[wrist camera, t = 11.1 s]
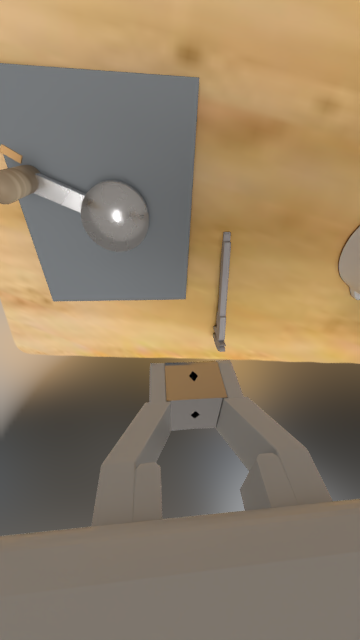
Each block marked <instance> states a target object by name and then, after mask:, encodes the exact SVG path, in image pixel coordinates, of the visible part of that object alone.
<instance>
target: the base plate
mask: <svg viewBox="0 0 360 640" xmlns="http://www.w3.org/2000/svg"><path fill="white" fill-rule="evenodd" d="M198 89H199V78H197V77H183V76H169V75H155V74H142V73H128V72H114V71H100V70H86V69H73V68H59V67H45V66H31V65H17V64H3V63H0V146H1V148H0V152H1V153H3V155H4V158H5V161H6V164H7V167H8V168H13V167H17V166H22V165H31V166H33V167H35V168H36V169H37V170H38V171H39V172H40V173H41V174H43V175H45V176H47V177H50V178H52V179H54V180H56V181H59V182H61V183H63V184H65V185H68V186H70V187H72V188H74V189H77V190H79V191H81V192H83V193H87V192H88V191H89V190H90V189H91V188H93V187H94V186H95V185H96V184H98V183H100V182H102V181H105V180H120V181H123V182H126V183H128V184H129V185H131V186H133V187H134V188H135V189H136V190H137V191H138V192H139V193H140V194H141V195H142V197H143V199H144V200H145V202H146V205H147V208H148V212H149V225H148V230H147V234H146V236H145V238H144V239H143V241H142V242H141V243H140V244H139V245H138V246H137V247H135V248H133V249H131V250H128V251H124V252H115V251H110V250H107V249H105V248H103V247H101V246H99V245H98V244H96V243H95V242H94V241H93V240H92V239H91V238H90V237H89V235H88V234H87V232H86V231H85V229H84V226H83V224H82V220H81V213H80V212H78V211H75V210H73V209H70V208H68V207H66V206H63V205H61V204H58V203H56V202H54V201H51V200H49V199H46V198H44V197H42V196H39V195H37V194H34V193H32V194H30V195H28V196H25V197H23V198H21V199H19V202H20V205H21V208H22V211H23V214H24V217H25V220H26V222H27V225H28V228H29V231H30V234H31V237H32V240H33V243H34V246H35V249H36V252H37V255H38V258H39V261H40V264H41V266H42V269H43V272H44V275H45V278H46V281H47V284H48V287H49V290H50V293H51V296H52V299H53V301H103V300H167V299H186V284H187V268H188V252H189V235H190V219H191V203H192V187H193V170H194V154H195V138H196V122H197V106H198Z"/></svg>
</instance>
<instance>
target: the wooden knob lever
mask: <svg viewBox="0 0 360 640" xmlns="http://www.w3.org/2000/svg"><path fill="white" fill-rule="evenodd" d="M32 193H34V194H37V195H39V196H42V197H44V198H46V199H49V200H51V201H54V202H56V203H58V204H61V205H63V206H66V207H68V208H70V209H73V210H75V211H78V212H80V213H81V220H82V224H83V226H84V229H85V231H86V232H87V234H88V235H89V237H90V238H91V239H92V240H93V241H94V242H95V243H96V244H98V245H99V246H101V247H103V248H105V249H107V250H110V251H115V252H124V251H128V250H131V249H133V248H135V247H137V246H138V245H139V244H140V243H141V242H142V241H143V239H144V238H145V236H146V234H147V230H148V225H149V212H148V208H147V205H146V202H145V200H144V199H143V197H142V195H141V194H140V193H139V192H138V191H137V190H136V189H135V188H134V187H133V186H131V185H129V184H128V183H126V182H123V181H120V180H105V181H102V182H100V183H98V184H96V185H95V186H94V187H93V188H91V189H90V190H89V191H88V192H87V193H83V192H81V191H79V190H77V189H74V188H72V187H70V186H68V185H65V184H63V183H61V182H59V181H56V180H54V179H52V178H50V177H47V176H45V175H43V174H41V173H40V172H39V171H38V170H37V169H36V168H35V167H33V166H31V165H22V166H17V167H13V168H8V169H3V170H0V203H1V204H10V203H12V202H15V201H17V200H19V199H21V198H23V197H25V196H28V195H30V194H32Z"/></svg>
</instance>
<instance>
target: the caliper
mask: <svg viewBox="0 0 360 640" xmlns="http://www.w3.org/2000/svg"><path fill="white" fill-rule="evenodd" d="M230 235H231V234H230V232H224V233H223V242H222V252H221V270H220V287H219V304H218V312H217V326H214V328H213V329H214V331H215V333H213V338H214V341H215V345H216V347H217V349H218V351H220V352H222V351H225V347H224V346H226V345H225V343H224V339H225V325H226V316H225V315H226V302H227V289H228V275H229V262H230V248H231V242H230Z"/></svg>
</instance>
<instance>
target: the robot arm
mask: <svg viewBox="0 0 360 640" xmlns="http://www.w3.org/2000/svg"><path fill="white" fill-rule="evenodd" d="M339 273H340V276H341V278H342V280H343V281H344V282H345V283H346V284H347V285H348V286H349V287H350V293H351V296H352V297H353V298H355V299H356V300H360V226H359V228H358V229H357V230H356V231H355V232H354V233H353V234H352V236H351V237H350V239H349V240H348V242H347V243H346V245H345V247H344V249H343V251H342V253H341V256H340V260H339ZM193 428H194V429H196V428H216V429H217V431H218V432H219V433H220V434H221V436H222V437H223V438H224V440H225V441H226V442H227V443H228V445H229V446H230V447H231V448H232V450H233V451H234V452H235V454H236V455H237V456H238V457H239V459H240V460H241V461H242V463H243V464H244V465H245V466H246V468H247V469H248V470H249V474H248V476H247V477H246V479H245V481H244V483H243V485H242V487H241V489H240V491H241V496H242V500H243V504H244V508H245V511H237V512H228V513H219V514H208V515H199V516H190V517H179V518H170V519H162V498H161V468H160V466H159V465H158V464H156V461H157V459H158V457H159V455H160V453H161V451H162V449H163V447H164V445H165V442H166V440H167V438H168V436H169V434H170V431H173V430H184V429H193ZM0 640H360V499H353V500H343V501H332V499H331V497H330V494H329V492H328V490H327V488H326V486H325V484H324V482H323V480H322V478H321V476H320V474H319V472H318V470H317V468H316V466H315V465H314V462H313V460H312V458H311V456H310V454H309V452H308V450H307V449H306V448H305V447H304V446H303V445H302V444H301V443H300V442H298V441H297V440H296V439H295V438H294V437H293V436H292V435H290V434H289V433H288V432H287V431H286V430H285V429H284V428H283V427H281V426H280V425H279V424H278V423H277V422H276V421H274V420H273V419H272V418H271V417H270V416H269V415H268V414H266V413H265V412H264V411H263V410H262V409H261V408H260V407H259V406H257V405H256V404H255V403H254V402H253V401H252V400H251V399H249V398H248V397H243V394H242V391H241V388H240V385H239V383H238V380H237V377H236V374H235V371H234V369H233V366H232V363H231V361H230V360H223V361H200V362H188V363H187V362H186V363H151V364H150V401H149V403H145V404H144V405H143V407H142V408H141V410H140V411H139V413H138V414H137V415H136V417H135V418H134V420H133V421H132V422H131V424H130V425H129V427H128V428H127V430H126V431H125V432H124V434H123V435H122V437H121V438H120V440H119V441H118V442H117V444H116V445H115V447H114V448H113V449H112V451H111V452H110V454H109V455H108V456H107V458H106V460H105V461H104V462H103V464H102V465H101V471H100V477H99V483H98V489H97V496H96V502H95V508H94V515H93V520H92V526H91V527H84V528H74V529H64V530H55V531H46V532H35V533H26V534H17V535H6V536H0Z"/></svg>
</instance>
